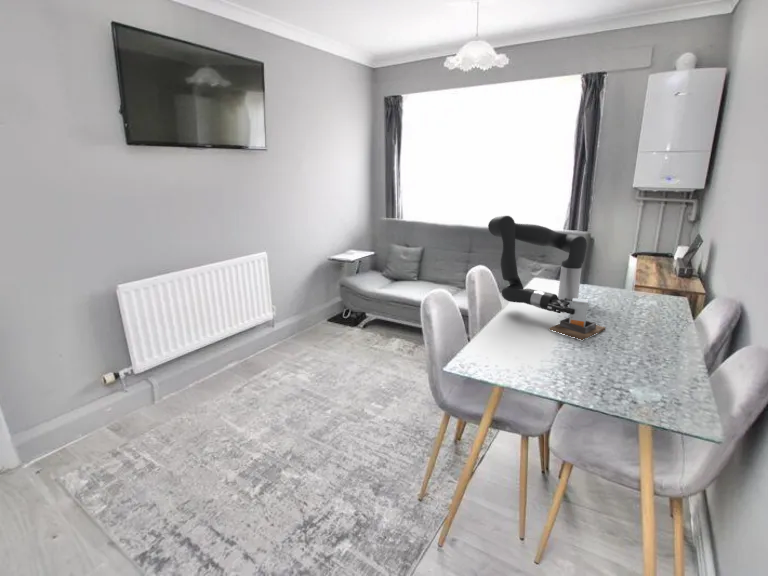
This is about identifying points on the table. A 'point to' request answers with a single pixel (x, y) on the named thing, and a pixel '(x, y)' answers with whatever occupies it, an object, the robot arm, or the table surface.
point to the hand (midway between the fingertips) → (580, 309)
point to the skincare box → (579, 312)
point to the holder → (577, 329)
